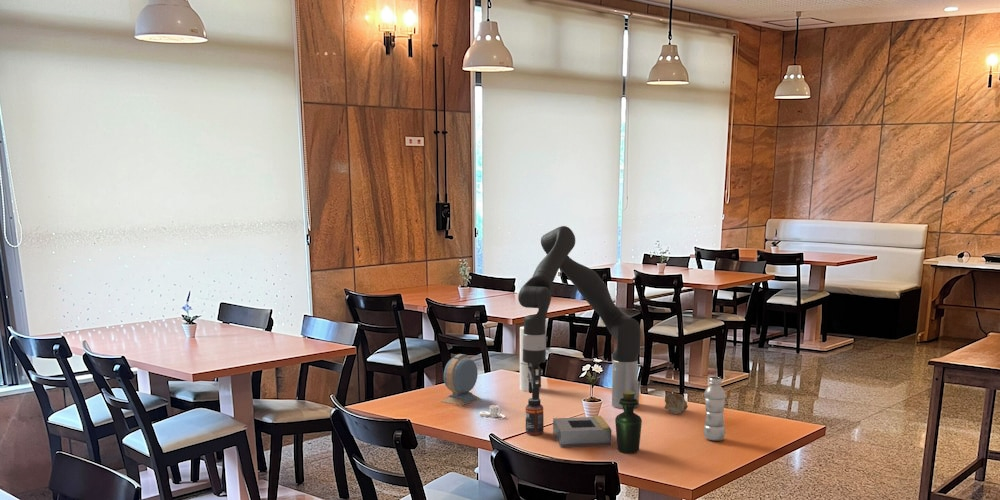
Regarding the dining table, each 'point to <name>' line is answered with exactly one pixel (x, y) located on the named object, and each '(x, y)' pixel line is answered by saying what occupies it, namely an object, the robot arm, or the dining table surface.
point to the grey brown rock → (675, 403)
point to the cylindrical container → (523, 365)
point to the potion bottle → (628, 425)
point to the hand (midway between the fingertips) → (533, 396)
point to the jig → (582, 431)
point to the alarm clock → (460, 380)
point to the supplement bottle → (534, 417)
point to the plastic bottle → (714, 410)
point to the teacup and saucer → (492, 413)
